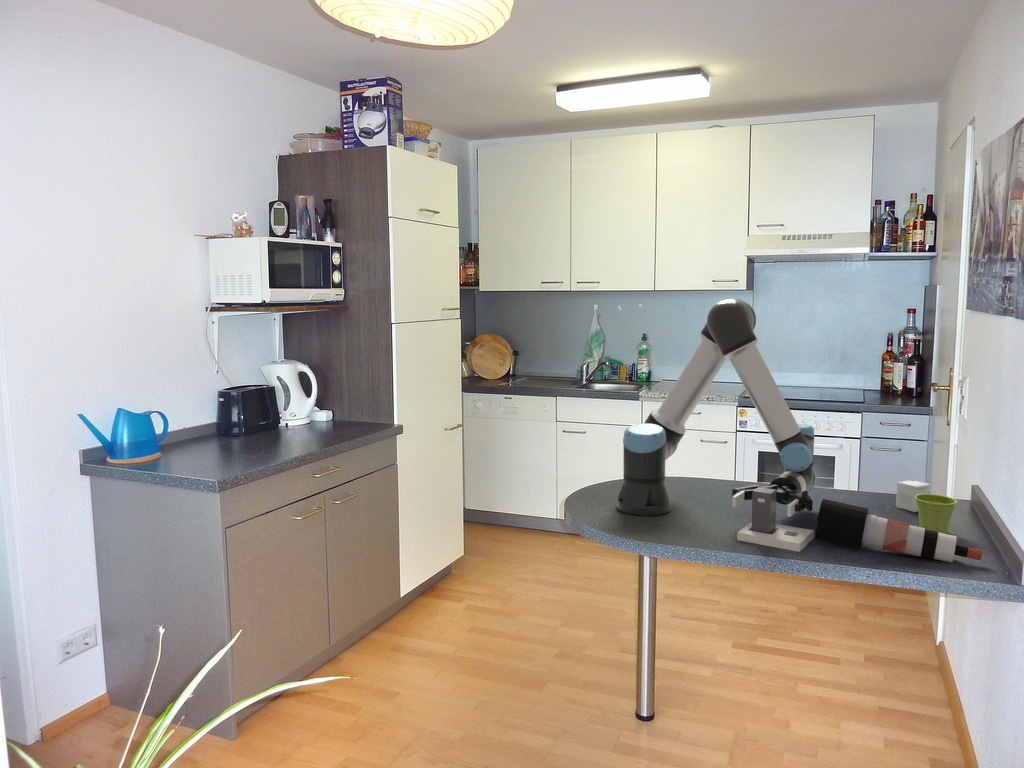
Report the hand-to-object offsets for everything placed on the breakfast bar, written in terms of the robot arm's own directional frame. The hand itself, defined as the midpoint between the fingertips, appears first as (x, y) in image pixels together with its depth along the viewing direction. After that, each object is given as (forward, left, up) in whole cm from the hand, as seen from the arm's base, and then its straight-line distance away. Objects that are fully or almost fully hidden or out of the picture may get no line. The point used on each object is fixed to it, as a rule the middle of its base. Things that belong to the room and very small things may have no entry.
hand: (760, 506), depth 187 cm
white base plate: (+3, +3, -8) cm, 9 cm away
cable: (+29, +8, -9) cm, 31 cm away
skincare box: (+26, +51, -9) cm, 58 cm away
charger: (0, +3, -9) cm, 9 cm away
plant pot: (+34, +31, -9) cm, 47 cm away
